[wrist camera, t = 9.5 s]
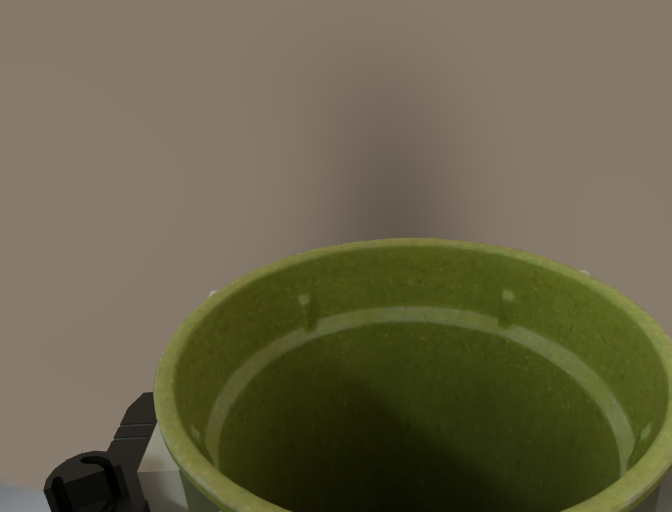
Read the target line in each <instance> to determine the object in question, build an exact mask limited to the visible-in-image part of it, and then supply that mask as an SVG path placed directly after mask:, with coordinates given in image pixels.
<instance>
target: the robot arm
mask: <svg viewBox="0 0 672 512" xmlns="http://www.w3.org/2000/svg"><path fill="white" fill-rule="evenodd" d="M579 271H581V272H584V273H586V274H588V275H589V273H588V272H587V270H579ZM218 291H219V290H218ZM216 292H217V291H211V293H210V295H209V297H210V296H211V295H213V294H214V293H216ZM209 297H208V298H209ZM153 394H154V392H148V393H143V394H142V395H141V396H140V397H139V398H138V399H137V400H136V401H135V402H134V403H133V404H132V405H131V406H129V408H128V409H127V411H126V414H125V415H124V418H123V420H122V422H121V424H120V427H119V428H118V430H117V432H116V434H115V436H114V441H112V442H111V444H110V447H109V448H108V450H107V452H102V451H91V452H86V453H82V454H79V455H77V456H74V457H72V458H70V459H68V460H66V461H65V462H63V463H62V464H61V465H59V466H58V467H57V468H55V469H54V470H53V472H52V473H51V474H50V476H49V477H48V478H47V479H46V483H45V486H44V490H43V491H44V493H45V496H46V499H47V501H48V504H49V507H50V509H51V512H220V509H219V508H218V507H217V506H216V505H215V504H213V503H212V502H211V501H210V500H208V499H207V498H206V497H205V496H204V495H203V494H202V493H201V492H200V491H199V490H198V489H197V488H195V487H194V486H193V484H192V483H191V482H190V481H189V480H188V479H187V477H186V476H185V475H184V474H183V473H182V471H181V470H180V469H179V467H178V466H177V464H176V463H175V462H174V460H173V459H172V457H171V455H170V453H169V451H168V449H167V447H166V445H165V442H164V440H163V437H162V434H161V431H160V428H159V425H158V422H157V418H156V412H155V405H154V396H153ZM630 512H672V468H671V470H670V471H669V473H668V475H667V476H666V478H665V479H664V480H663V481H662V482H661V483H660V484H659V485H658V486H657V488H656V489H655V490H654V491H653V492H652V493H651V494H650V495H649V496H648V497H647V498H646V499H645V500H644V501H642V502H641V503H640V504H639V505H638V506H637V507H635V508H634V509H633V510H632V511H630Z"/></svg>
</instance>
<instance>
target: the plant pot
mask: <svg viewBox="0 0 672 512" xmlns="http://www.w3.org/2000/svg"><path fill="white" fill-rule="evenodd" d="M153 396H154V405H155V412H156V418H157V422H158V425H159V428H160V431H161V434H162V437H163V440H164V442H165V445H166V447H167V449H168V451H169V453H170V455H171V457H172V459H173V460H174V462H175V463H176V464H177V466H178V467H179V469H180V470H181V471H182V473H183V474H184V475H185V476H186V477H187V479H188V480H189V481H190V482H191V483H192V484H193V486H194V487H195V488H197V489H198V490H199V491H200V492H201V493H202V494H203V495H204V496H205V497H206V498H207V499H208V500H210V501H211V502H212V503H213V504H215V505H216V506H217V507H218V508H219V509H220V511H221V512H630V511H632V510H633V509H634V508H635V507H637V506H638V505H639V504H640V503H641V502H642V501H644V500H645V499H646V498H647V497H648V496H649V495H650V494H651V493H652V492H653V491H654V490H655V489H656V488H657V486H658V485H659V484H660V483H661V482H662V481H663V480H664V479H665V478H666V476H667V475H668V473H669V471H670V470H671V468H672V340H671V338H670V337H669V336H668V334H667V333H666V331H665V330H664V329H663V328H662V327H661V326H660V325H659V324H658V323H657V322H656V321H655V320H654V319H653V318H652V317H651V316H650V315H649V314H648V313H647V312H646V311H645V310H643V309H642V308H640V307H639V306H638V305H637V304H636V303H634V302H633V301H632V300H630V299H629V298H628V297H626V296H625V295H624V294H622V293H620V292H619V291H617V290H616V289H615V288H612V287H610V286H608V285H607V284H606V283H603V282H601V281H598V280H597V279H595V278H593V277H591V276H590V275H588V274H586V273H584V272H581V271H579V270H576V269H574V268H572V267H569V266H567V265H565V264H563V263H561V262H558V261H555V260H552V259H549V258H547V257H543V256H539V255H536V254H533V253H529V252H525V251H522V250H517V249H509V248H505V247H501V246H497V245H488V244H484V243H479V242H471V241H462V240H444V239H438V238H394V239H379V240H371V241H361V242H360V241H359V242H354V243H346V244H341V245H335V246H330V247H322V248H318V249H314V250H310V251H306V252H303V253H300V254H295V255H292V256H290V257H286V258H283V259H280V260H277V261H274V262H272V263H269V264H267V265H264V266H262V267H259V268H257V269H255V270H253V271H251V272H250V273H248V274H246V275H244V276H242V277H240V278H238V279H236V280H234V281H233V282H231V283H229V284H228V285H226V286H225V287H224V288H222V289H221V290H219V291H217V292H216V293H214V294H213V295H211V296H210V297H209V298H208V299H207V300H206V301H205V302H203V303H202V304H201V305H200V306H199V307H198V308H196V309H195V310H194V311H193V312H192V313H190V314H189V316H188V317H187V318H186V319H185V320H184V321H183V323H182V324H181V325H180V326H179V327H178V328H177V330H176V331H175V333H174V335H173V336H172V337H171V339H170V341H169V342H168V344H167V346H166V348H165V349H164V351H163V354H162V356H161V358H160V360H159V363H158V366H157V370H156V374H155V379H154V394H153Z"/></svg>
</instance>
